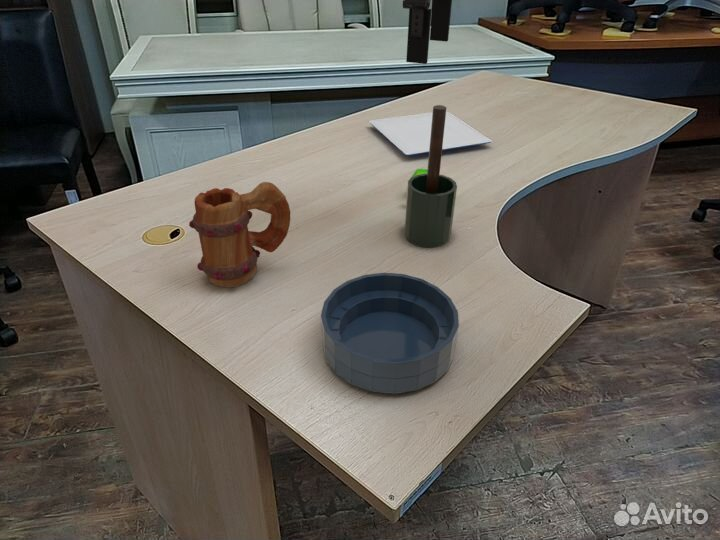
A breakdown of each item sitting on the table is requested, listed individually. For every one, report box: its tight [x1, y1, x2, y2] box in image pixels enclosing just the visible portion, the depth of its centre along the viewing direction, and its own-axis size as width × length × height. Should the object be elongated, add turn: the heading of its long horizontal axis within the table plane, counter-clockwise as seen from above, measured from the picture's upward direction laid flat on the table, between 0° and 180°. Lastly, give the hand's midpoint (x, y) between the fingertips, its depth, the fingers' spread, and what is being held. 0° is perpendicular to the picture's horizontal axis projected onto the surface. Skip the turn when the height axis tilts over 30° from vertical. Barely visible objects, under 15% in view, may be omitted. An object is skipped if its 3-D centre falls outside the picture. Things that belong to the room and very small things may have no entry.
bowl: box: [320, 272, 460, 395], centre depth 68 cm, size 17×17×6 cm
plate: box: [368, 110, 493, 157], centre depth 129 cm, size 22×22×2 cm
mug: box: [188, 181, 291, 288], centre depth 79 cm, size 15×8×15 cm, turn 108°
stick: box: [425, 104, 447, 194], centre depth 86 cm, size 2×2×22 cm
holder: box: [404, 173, 458, 249], centre depth 90 cm, size 8×8×10 cm
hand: (428, 50), depth 76 cm, fingers open, 13 cm apart
